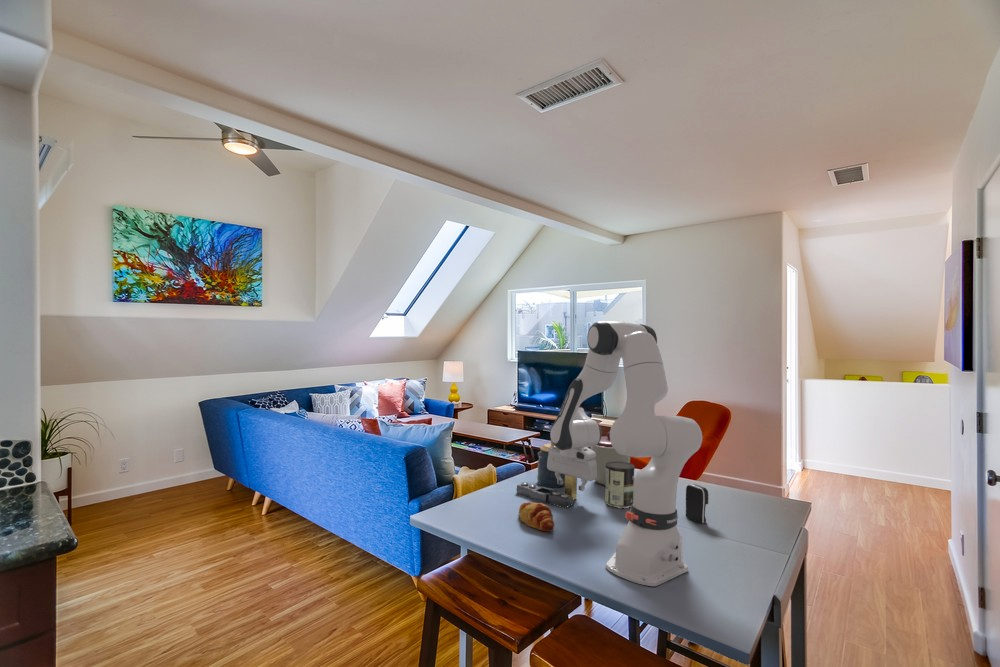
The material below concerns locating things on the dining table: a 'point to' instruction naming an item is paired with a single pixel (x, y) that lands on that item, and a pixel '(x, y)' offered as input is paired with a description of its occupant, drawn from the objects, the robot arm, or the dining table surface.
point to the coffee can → (619, 484)
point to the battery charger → (696, 502)
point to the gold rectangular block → (571, 486)
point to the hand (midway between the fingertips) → (570, 487)
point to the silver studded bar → (544, 494)
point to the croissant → (536, 516)
